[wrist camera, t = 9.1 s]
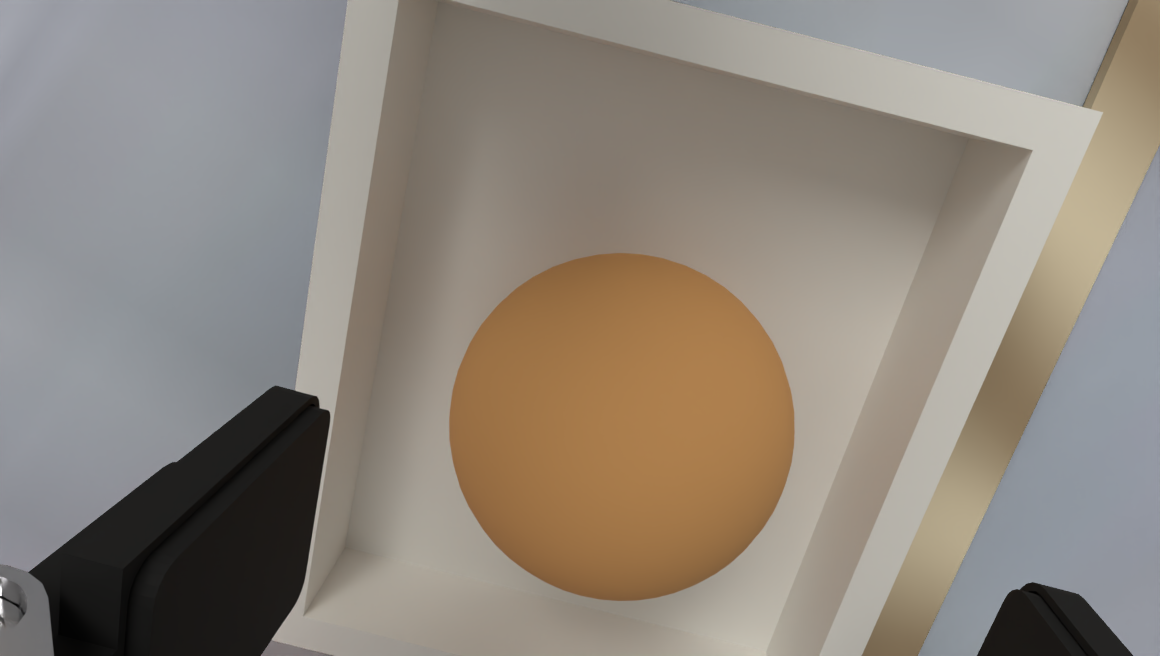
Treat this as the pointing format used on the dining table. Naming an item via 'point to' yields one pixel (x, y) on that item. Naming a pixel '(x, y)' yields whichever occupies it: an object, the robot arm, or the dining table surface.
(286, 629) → the tray
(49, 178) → the dining table surface
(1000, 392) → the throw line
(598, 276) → the ball
